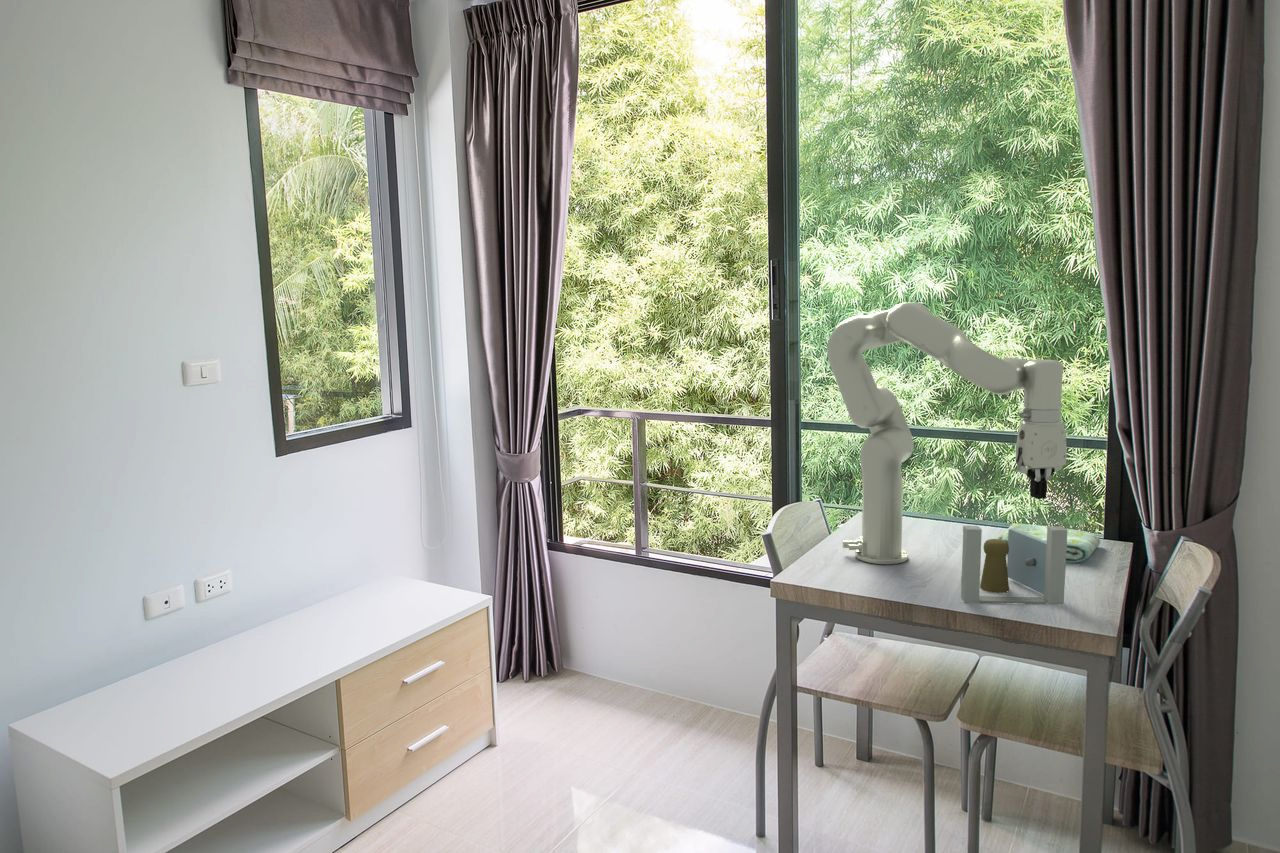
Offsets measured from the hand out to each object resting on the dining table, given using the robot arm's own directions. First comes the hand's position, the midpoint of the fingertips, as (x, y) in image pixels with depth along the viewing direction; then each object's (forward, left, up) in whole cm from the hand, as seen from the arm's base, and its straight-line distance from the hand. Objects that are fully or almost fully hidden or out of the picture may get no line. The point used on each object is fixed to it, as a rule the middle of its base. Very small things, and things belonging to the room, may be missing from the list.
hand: (1038, 497), depth 199 cm
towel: (+10, +24, -20) cm, 32 cm away
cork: (-10, -6, -19) cm, 23 cm away
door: (-4, -7, -18) cm, 20 cm away
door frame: (-9, -15, -19) cm, 26 cm away
